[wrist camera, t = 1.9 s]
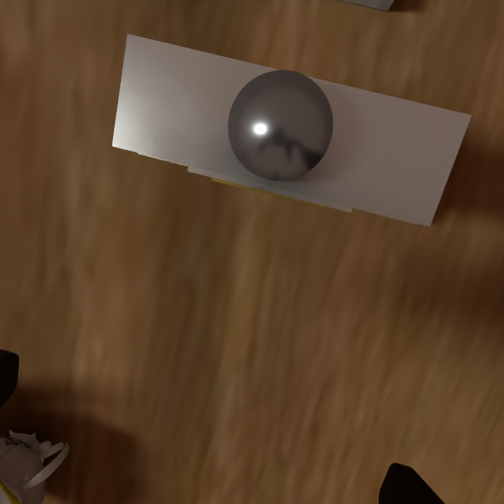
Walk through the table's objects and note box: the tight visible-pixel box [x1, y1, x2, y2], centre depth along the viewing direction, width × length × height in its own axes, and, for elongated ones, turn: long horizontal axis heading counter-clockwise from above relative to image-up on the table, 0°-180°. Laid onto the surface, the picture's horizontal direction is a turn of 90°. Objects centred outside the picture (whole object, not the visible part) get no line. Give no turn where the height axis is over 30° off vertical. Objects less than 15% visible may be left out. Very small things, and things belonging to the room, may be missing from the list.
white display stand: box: [112, 34, 472, 227], centre depth 14 cm, size 14×4×9 cm, turn 76°
